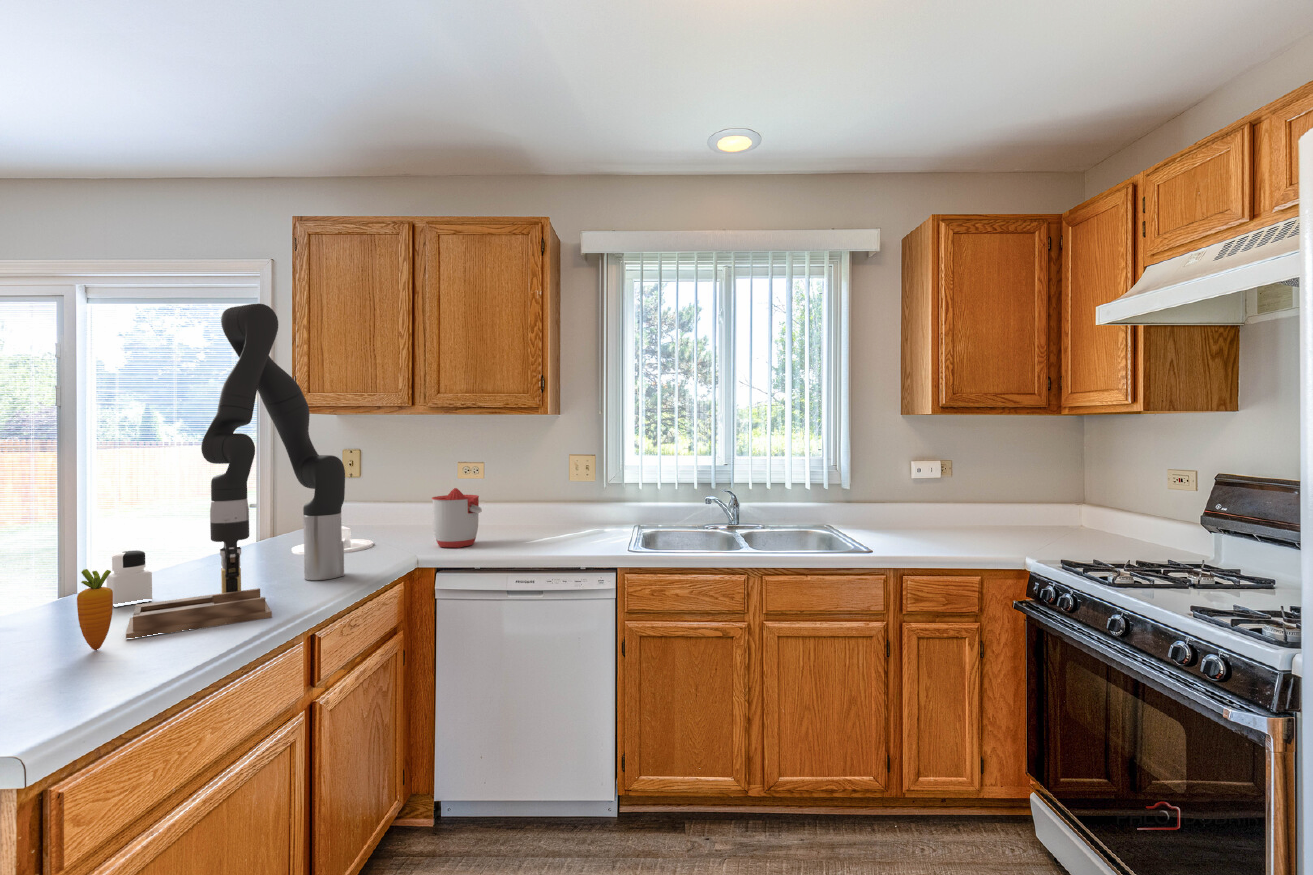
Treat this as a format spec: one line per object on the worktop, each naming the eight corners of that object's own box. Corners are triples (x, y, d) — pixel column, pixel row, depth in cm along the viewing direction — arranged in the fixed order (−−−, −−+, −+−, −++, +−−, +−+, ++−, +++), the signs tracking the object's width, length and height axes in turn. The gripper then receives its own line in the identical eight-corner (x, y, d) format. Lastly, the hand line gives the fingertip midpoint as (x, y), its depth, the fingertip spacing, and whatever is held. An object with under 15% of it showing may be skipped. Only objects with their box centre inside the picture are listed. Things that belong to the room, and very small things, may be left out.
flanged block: (247, 597, 154) (247, 563, 154) (250, 603, 149) (250, 568, 149) (212, 601, 150) (211, 567, 150) (214, 608, 144) (213, 572, 144)
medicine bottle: (144, 597, 156) (143, 547, 156) (152, 601, 151) (151, 550, 151) (106, 603, 150) (105, 552, 150) (113, 608, 146) (112, 555, 146)
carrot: (121, 645, 120) (119, 565, 119) (98, 654, 115) (97, 570, 114) (93, 646, 119) (92, 565, 119) (70, 655, 114) (68, 571, 114)
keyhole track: (264, 603, 148) (264, 586, 148) (271, 617, 137) (271, 598, 137) (130, 623, 134) (129, 604, 134) (126, 640, 123) (125, 619, 123)
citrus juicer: (466, 550, 212) (465, 490, 212) (422, 548, 218) (421, 489, 217) (492, 542, 227) (492, 486, 227) (451, 540, 232) (450, 485, 232)
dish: (275, 552, 215) (274, 519, 215) (342, 540, 237) (341, 510, 237) (322, 558, 204) (321, 523, 203) (388, 545, 226) (387, 513, 226)
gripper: (251, 520, 146) (253, 596, 146) (246, 514, 157) (247, 585, 157) (211, 524, 141) (213, 602, 141) (208, 517, 153) (210, 589, 153)
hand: (231, 592), depth 149 cm, fingers closed on flanged block, 3 cm apart
